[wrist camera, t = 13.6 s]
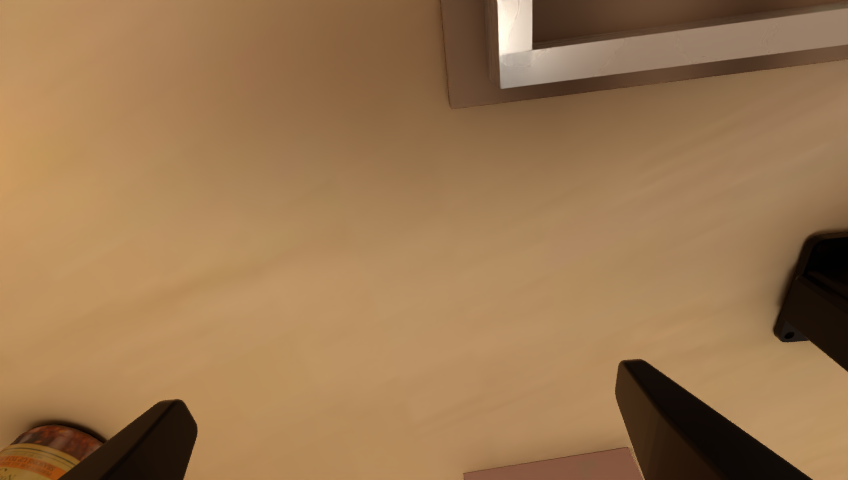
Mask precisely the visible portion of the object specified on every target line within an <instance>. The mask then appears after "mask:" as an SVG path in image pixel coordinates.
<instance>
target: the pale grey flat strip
mask: <svg viewBox="0 0 848 480" xmlns="http://www.w3.org/2000/svg"><path fill="white" fill-rule="evenodd" d="M840 1H848V0H532V43H535V42H542V41H550V40H557V39H564V38H572V37H579V36H587V35H594V34H602V33H609V32H617V31H624V30H632V29H639V28H646V27H654V26H661V25H669V24H676V23H684V22H691V21H699V20H706V19H713V18H721V17H728V16H736V15H743V14H751V13H758V12H766V11H773V10H781V9H788V8H795V7H803V6H810V5H818V4H825V3H833V2H840ZM440 4H441V15H442V27H443V38H444V49H445V60H446V71H447V82H448V93H449V104H450V107H451V109H458V108H466V107H474V106H482V105H490V104H498V103H505V102H513V101H521V100H529V99H537V98H545V97H553V96H561V95H569V94H577V93H585V92H593V91H601V90H609V89H617V88H625V87H633V86H640V85H648V84H656V83H664V82H672V81H680V80H688V79H696V78H704V77H712V76H720V75H728V74H736V73H744V72H752V71H760V70H768V69H776V68H783V67H791V66H799V65H807V64H815V63H823V62H831V61H839V60H847V59H848V44H847V45H840V46H832V47H824V48H816V49H808V50H801V51H793V52H785V53H777V54H769V55H761V56H754V57H746V58H738V59H730V60H722V61H715V62H707V63H699V64H691V65H683V66H676V67H668V68H660V69H652V70H644V71H636V72H629V73H621V74H613V75H605V76H597V77H590V78H582V79H574V80H566V81H558V82H551V83H543V84H535V85H527V86H519V87H512V88H504V89H500V88H499V87H498V86H497V85H495V84H494V83H493V82H492V81H491V80H490V79H489V78H488V72H487V50H486V29H485V7H484V0H440Z"/></svg>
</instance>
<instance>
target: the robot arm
mask: <svg viewBox="0 0 848 480" xmlns="http://www.w3.org/2000/svg"><path fill="white" fill-rule="evenodd" d="M774 335H775V336H776V337H777V338H778V339H779V340H780V341H782V342H797V341H808V340H810V341H811V342H812V343H813V344H815V345H816V346H817V347H818V348H819V349H821V350H822V351H823V352H824V353H825V354H827V355H828V356H829V357H830V358H832V359H833V360H834V361H835V362H836V363H838V364H839V365H840V366H841V367H842V368H844V369H845V370H846V371H847V372H848V232H844V233H835V234H825V235H818V236H814V237H813V238H811V239H810V240H809V241H808V242H807V243H806V245H805V248H804V250H803V253H802V256H801V259H800V261H799V264H798V267H797V270H796V273H795V275H794V278H793V281H792V284H791V287H790V289H789V292H788V295H787V298H786V300H785V303H784V306H783V309H782V312H781V314H780V317H779V320H778V323H777V325H776V328H775V331H774ZM615 395H616V400H617V403H618V406H619V409H620V412H621V414H622V417H623V420H624V423H625V426H626V428H627V431H628V434H629V437H630V440H631V443H632V445H633V448H634V451H635V454H636V457H637V459H638V462H639V465H640V468H641V471H642V473H643V476H644V478H645V480H813V479H811V478H810V477H808V476H807V475H806V474H804V473H803V472H801V471H800V470H798V469H797V468H796V467H794V466H793V465H791V464H790V463H789V462H787V461H786V460H784V459H783V458H782V457H780V456H779V455H777V454H776V453H774V452H773V451H772V450H770V449H769V448H767V447H766V446H765V445H763V444H762V443H760V442H759V441H758V440H756V439H755V438H753V437H752V436H750V435H749V434H748V433H746V432H745V431H743V430H742V429H741V428H739V427H738V426H736V425H735V424H734V423H732V422H731V421H729V420H728V419H727V418H725V417H724V416H722V415H721V414H719V413H718V412H717V411H715V410H714V409H712V408H711V407H710V406H708V405H707V404H705V403H704V402H703V401H701V400H700V399H698V398H697V397H695V396H694V395H693V394H691V393H690V392H688V391H687V390H686V389H684V388H683V387H681V386H680V385H679V384H677V383H676V382H674V381H673V380H671V379H670V378H669V377H667V376H666V375H664V374H663V373H662V372H660V371H659V370H657V369H656V368H655V367H653V366H652V365H650V364H649V363H647V362H646V361H644V360H642V359H632V360H623V361H621V362H620V363H619V366H618V372H617V380H616V387H615ZM197 432H198V431H197V424H196V422H195V420H194V418H193V417H192V415H191V413H190V411H189V410H188V408H187V406H186V404H185V403H184V402H183V401H182V400H180V399H174V400H164V401H160V402H158V403H157V404H155V405H154V406H153V407H151V408H150V409H149V410H147V411H146V412H145V413H143V414H142V415H141V416H140V417H138V418H137V419H136V420H134V421H133V422H132V423H130V424H129V425H128V426H126V427H125V428H124V429H123V430H121V431H120V432H119V433H117V434H116V435H115V436H113V437H112V438H111V439H109V440H108V441H107V442H106V443H104V444H103V445H102V446H100V447H99V448H98V449H96V450H95V451H94V452H92V453H91V454H90V455H88V456H87V457H86V458H85V459H83V460H82V461H81V462H79V463H78V464H77V465H75V466H74V467H73V468H71V469H70V470H69V471H68V472H66V473H65V474H64V475H62V476H61V477H60V478H58V479H57V480H183V479H184V476H185V473H186V469H187V466H188V463H189V460H190V457H191V454H192V450H193V447H194V444H195V441H196V438H197Z"/></svg>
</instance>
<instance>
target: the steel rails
mask: <svg viewBox="0 0 848 480" xmlns="http://www.w3.org/2000/svg"><path fill="white" fill-rule="evenodd" d="M484 7H485V29H486V50H487V72H488V78H489V79H490V80H491V81H492V82H493V83H494V84H495V85H497V86H498V87H499V88H500V89H504V88H512V87H519V86H527V85H535V84H543V83H551V82H558V81H566V80H574V79H582V78H590V77H597V76H605V75H613V74H621V73H629V72H636V71H644V70H652V69H660V68H668V67H676V66H683V65H691V64H699V63H707V62H715V61H722V60H730V59H738V58H746V57H754V56H761V55H769V54H777V53H785V52H793V51H801V50H808V49H816V48H824V47H832V46H840V45H847V44H848V1H840V2H833V3H825V4H818V5H810V6H803V7H795V8H788V9H781V10H773V11H766V12H758V13H751V14H743V15H736V16H728V17H721V18H713V19H706V20H699V21H691V22H684V23H676V24H669V25H661V26H654V27H646V28H639V29H632V30H624V31H617V32H609V33H602V34H594V35H587V36H579V37H572V38H564V39H557V40H550V41H542V42H535V43H532V0H484Z"/></svg>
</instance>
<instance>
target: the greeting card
mask: <svg viewBox="0 0 848 480" xmlns="http://www.w3.org/2000/svg"><path fill="white" fill-rule="evenodd" d="M464 480H643V479H642V476H641V474H640V472H639V470H638V468H637V466H636V464H635V462H634V460H633V457H632V455H631V453H630V451H629V449H628V447H627V448H621V449H614V450H608V451H602V452H595V453H589V454H583V455H577V456H570V457H564V458H558V459H551V460H545V461H539V462H533V463H526V464H520V465H514V466H507V467H501V468H495V469H489V470H482V471H476V472H470V473H464Z"/></svg>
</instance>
